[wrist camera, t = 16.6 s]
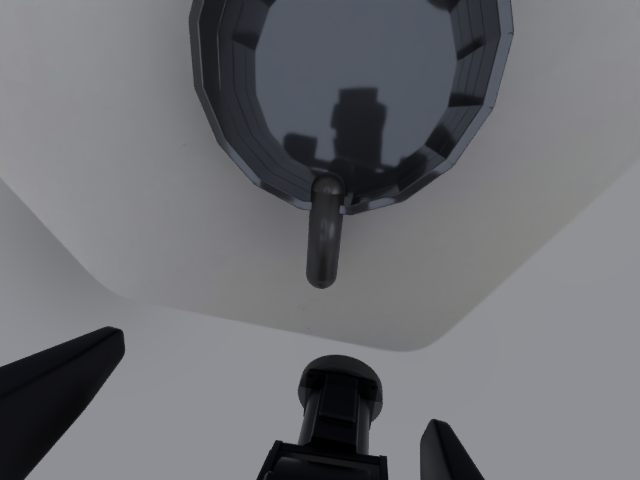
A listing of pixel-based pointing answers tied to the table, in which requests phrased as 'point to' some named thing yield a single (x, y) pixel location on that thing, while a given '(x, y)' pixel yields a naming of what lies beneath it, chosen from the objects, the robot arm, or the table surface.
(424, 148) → the pan
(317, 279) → the pan handle
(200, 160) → the table surface
